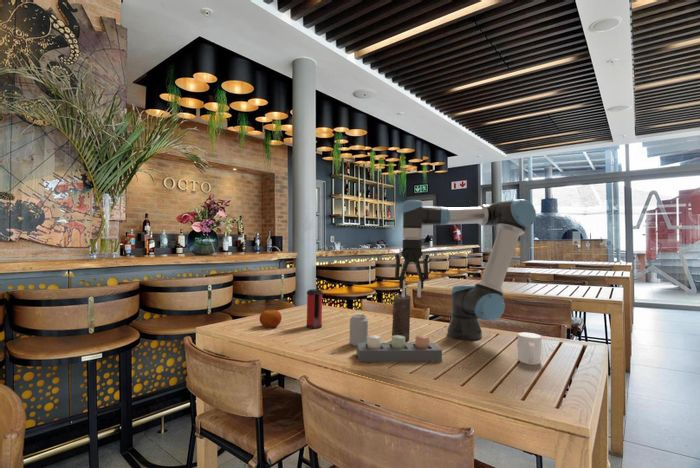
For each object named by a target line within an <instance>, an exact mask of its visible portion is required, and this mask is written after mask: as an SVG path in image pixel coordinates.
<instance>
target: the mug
mask: <svg viewBox="0 0 700 468" xmlns="http://www.w3.org/2000/svg"><path fill="white" fill-rule="evenodd" d="M541 356H542V335H540V334H537V333H533V332H526V331H525V332H523V331H522V332H518V333H517V360H518V361H519V362H521V363H523V364H526V365H532V366H533V365H539V364H540V363H541Z"/></svg>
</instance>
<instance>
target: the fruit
mask: <svg viewBox="0 0 700 468" xmlns="http://www.w3.org/2000/svg"><path fill="white" fill-rule="evenodd" d="M282 318H283V317H282V313H281V312H280V311H278V310H276V309H265V310H264V311H262V312H261V313H260V315H259V323H260V324H261V325H262V326H263V327H265V328H276V327H278V326H279V325H280V324H281V322H282Z"/></svg>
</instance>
